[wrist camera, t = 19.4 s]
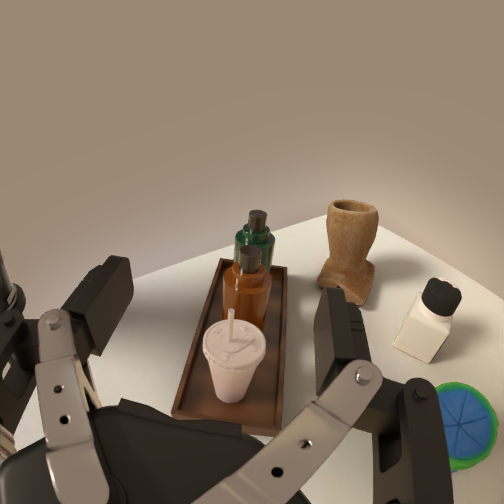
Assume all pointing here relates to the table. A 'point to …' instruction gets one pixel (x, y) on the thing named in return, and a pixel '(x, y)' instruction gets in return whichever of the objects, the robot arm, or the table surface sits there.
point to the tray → (264, 378)
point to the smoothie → (233, 356)
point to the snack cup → (466, 424)
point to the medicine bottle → (429, 320)
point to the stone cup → (350, 248)
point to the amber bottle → (247, 288)
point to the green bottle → (256, 238)
